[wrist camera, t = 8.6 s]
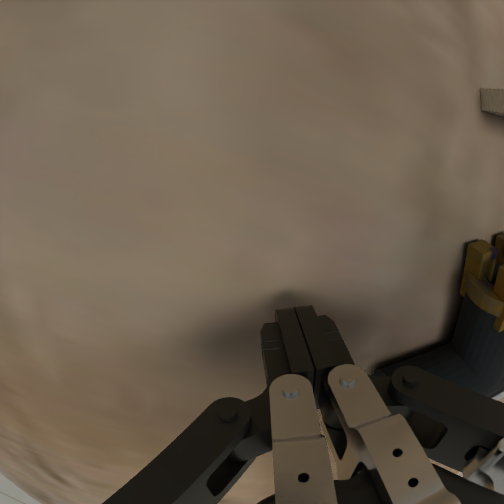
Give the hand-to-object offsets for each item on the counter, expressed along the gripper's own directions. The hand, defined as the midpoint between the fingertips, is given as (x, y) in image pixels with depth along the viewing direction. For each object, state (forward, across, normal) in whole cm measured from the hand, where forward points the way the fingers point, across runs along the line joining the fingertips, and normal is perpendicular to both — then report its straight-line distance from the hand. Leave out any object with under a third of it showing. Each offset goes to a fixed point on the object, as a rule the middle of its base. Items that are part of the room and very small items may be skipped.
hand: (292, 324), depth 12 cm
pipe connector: (+2, -13, +4) cm, 14 cm away
